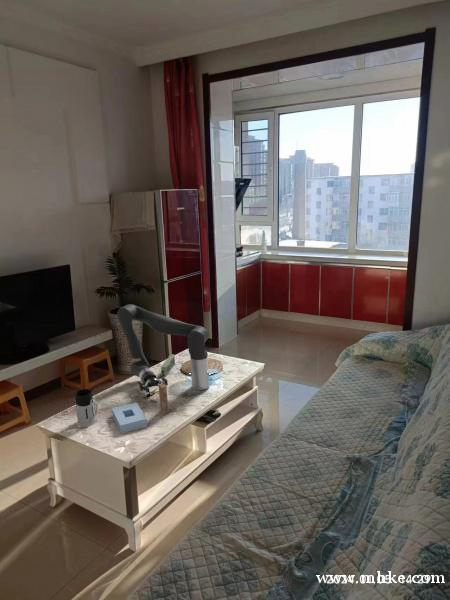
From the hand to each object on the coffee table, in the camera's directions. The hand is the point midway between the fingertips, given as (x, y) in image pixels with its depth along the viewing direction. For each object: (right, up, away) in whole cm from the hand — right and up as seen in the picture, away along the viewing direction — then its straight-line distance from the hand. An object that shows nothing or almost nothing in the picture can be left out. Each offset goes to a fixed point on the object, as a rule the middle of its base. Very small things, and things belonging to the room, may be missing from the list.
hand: (157, 389), depth 216 cm
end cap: (-11, -12, -14) cm, 21 cm away
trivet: (+20, +3, +45) cm, 49 cm away
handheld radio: (0, +1, +41) cm, 41 cm away
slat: (+5, -10, -7) cm, 13 cm away
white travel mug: (-29, -13, -15) cm, 35 cm away
